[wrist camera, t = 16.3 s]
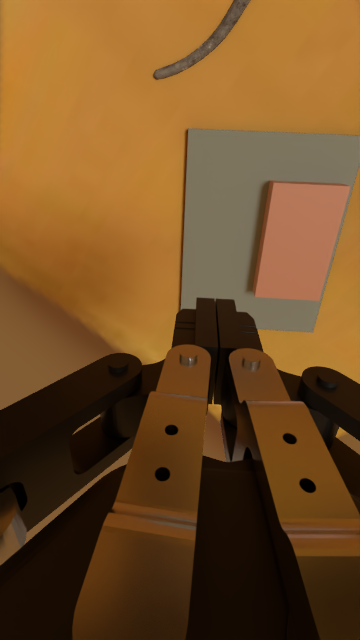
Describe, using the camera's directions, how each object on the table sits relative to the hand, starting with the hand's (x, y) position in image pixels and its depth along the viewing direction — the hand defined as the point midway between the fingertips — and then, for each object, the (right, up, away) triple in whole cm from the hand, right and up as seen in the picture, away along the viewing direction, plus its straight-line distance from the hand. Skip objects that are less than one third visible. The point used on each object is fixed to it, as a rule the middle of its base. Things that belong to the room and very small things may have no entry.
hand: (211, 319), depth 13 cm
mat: (+6, +7, +17) cm, 20 cm away
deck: (+6, +7, +16) cm, 18 cm away
